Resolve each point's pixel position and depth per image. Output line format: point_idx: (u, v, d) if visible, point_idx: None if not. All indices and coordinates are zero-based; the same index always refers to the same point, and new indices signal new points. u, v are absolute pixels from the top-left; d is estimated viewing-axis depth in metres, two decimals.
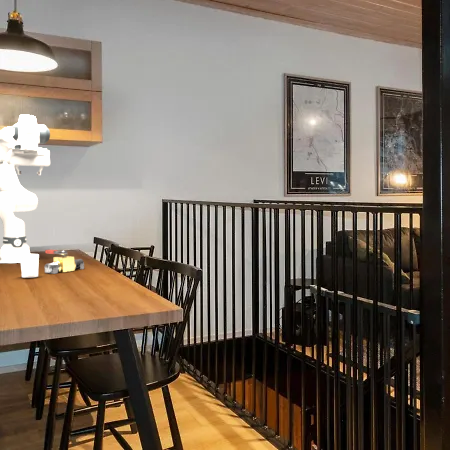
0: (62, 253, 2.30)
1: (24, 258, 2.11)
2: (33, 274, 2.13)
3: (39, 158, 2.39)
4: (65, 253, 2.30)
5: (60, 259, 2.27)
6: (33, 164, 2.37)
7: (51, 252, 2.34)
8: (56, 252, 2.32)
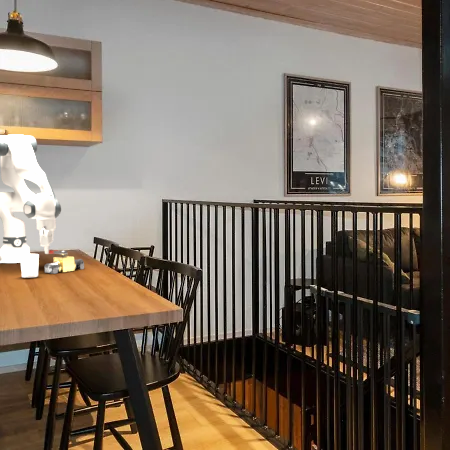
0: (62, 253, 2.30)
1: (24, 258, 2.11)
2: (33, 274, 2.13)
3: None
4: (65, 253, 2.30)
5: (60, 259, 2.27)
6: None
7: (51, 252, 2.34)
8: (56, 252, 2.32)
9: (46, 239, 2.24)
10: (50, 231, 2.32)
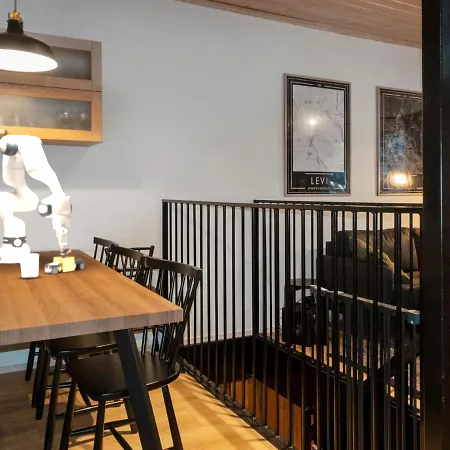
0: (60, 253, 2.30)
1: (24, 258, 2.11)
2: (33, 274, 2.13)
3: (58, 236, 2.33)
4: (62, 253, 2.30)
5: (60, 259, 2.27)
6: (58, 242, 2.36)
7: None
8: None
9: (65, 238, 2.30)
10: (66, 230, 2.37)
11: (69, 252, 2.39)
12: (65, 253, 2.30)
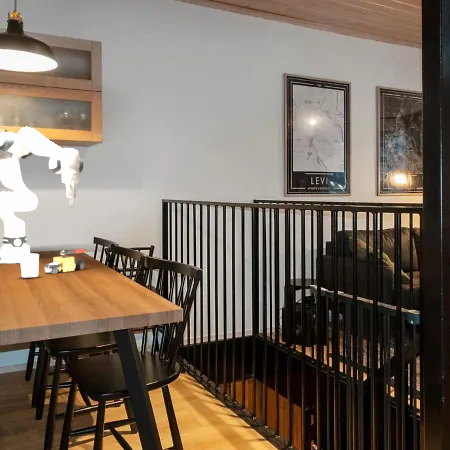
0: None
1: (24, 258, 2.11)
2: (33, 274, 2.13)
3: None
4: (60, 253, 2.30)
5: (60, 259, 2.27)
6: None
7: None
8: None
9: (72, 191, 2.33)
10: (75, 185, 2.40)
11: None
12: (63, 253, 2.30)
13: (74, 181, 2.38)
